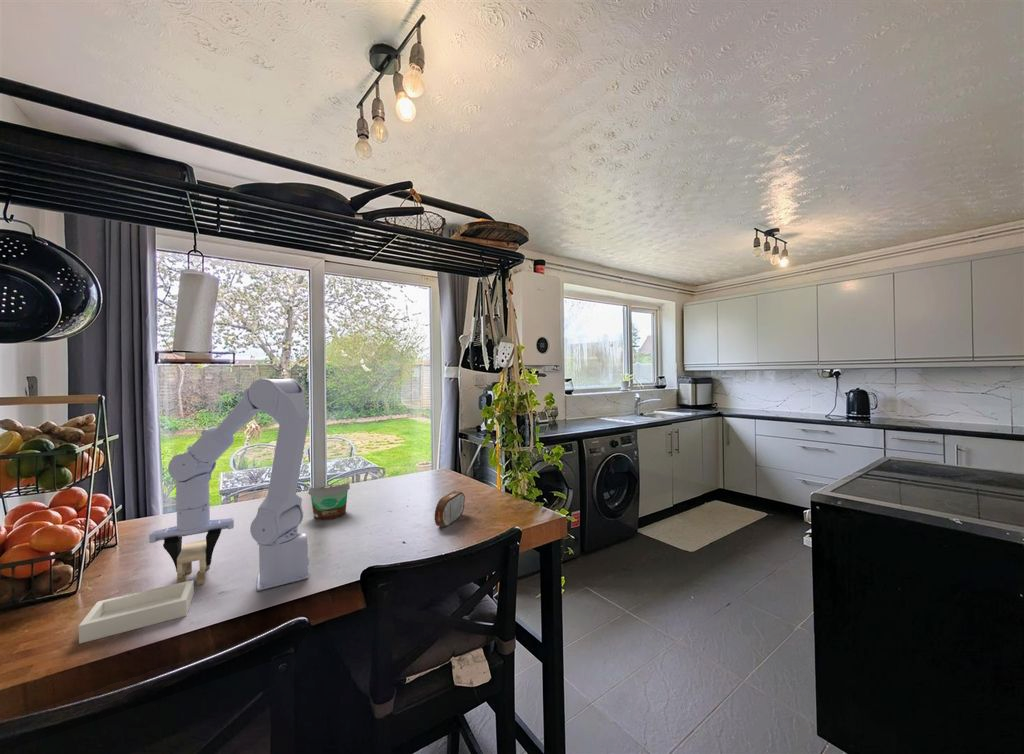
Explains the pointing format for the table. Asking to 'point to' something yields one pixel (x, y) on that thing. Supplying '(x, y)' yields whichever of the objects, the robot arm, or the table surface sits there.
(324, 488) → the food container
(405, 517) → the table surface
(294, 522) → the robot arm
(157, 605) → the tray
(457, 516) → the tin
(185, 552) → the wooden toy bench
